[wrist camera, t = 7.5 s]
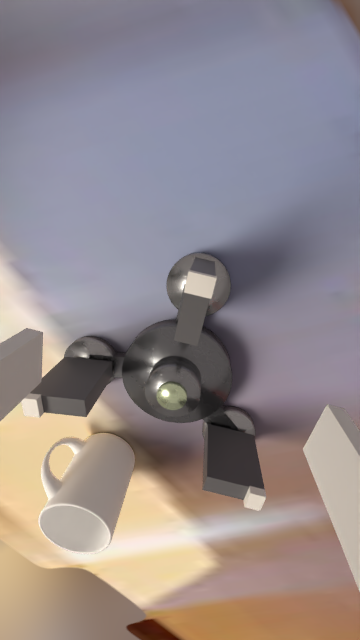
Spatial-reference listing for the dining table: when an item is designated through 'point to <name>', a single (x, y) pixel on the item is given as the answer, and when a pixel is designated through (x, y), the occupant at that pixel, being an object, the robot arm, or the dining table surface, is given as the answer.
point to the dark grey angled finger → (233, 466)
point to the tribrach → (176, 362)
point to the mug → (86, 493)
